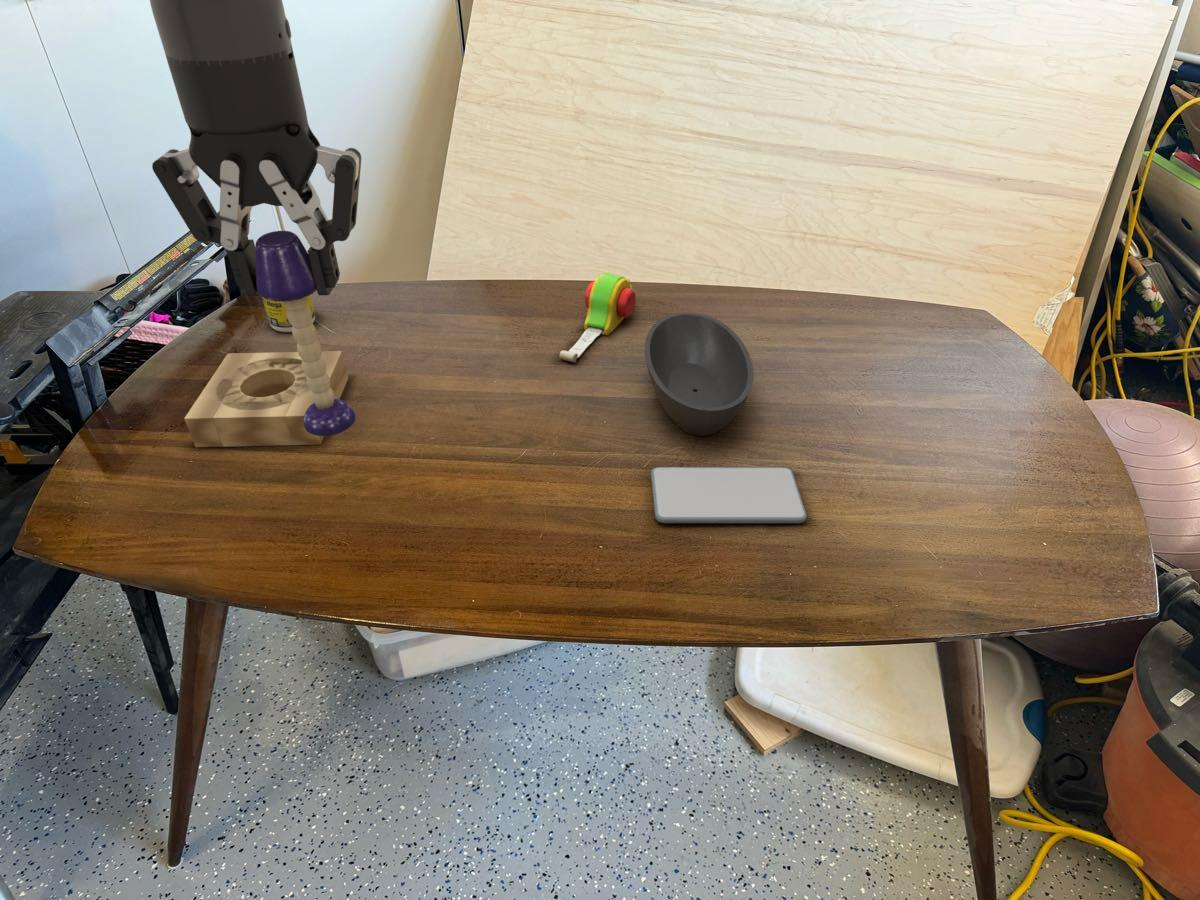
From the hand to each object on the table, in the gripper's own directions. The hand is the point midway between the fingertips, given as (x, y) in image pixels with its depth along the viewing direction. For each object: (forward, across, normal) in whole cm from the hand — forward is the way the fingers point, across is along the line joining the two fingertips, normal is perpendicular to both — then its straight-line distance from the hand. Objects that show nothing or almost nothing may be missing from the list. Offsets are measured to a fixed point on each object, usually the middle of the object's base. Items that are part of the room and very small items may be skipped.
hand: (292, 290), depth 60 cm
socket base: (+27, -15, +23) cm, 38 cm away
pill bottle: (+27, -19, +45) cm, 56 cm away
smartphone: (+27, +36, +6) cm, 45 cm away
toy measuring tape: (+27, +24, +42) cm, 55 cm away
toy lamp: (+13, 0, 0) cm, 13 cm away
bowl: (+27, +35, +24) cm, 50 cm away
